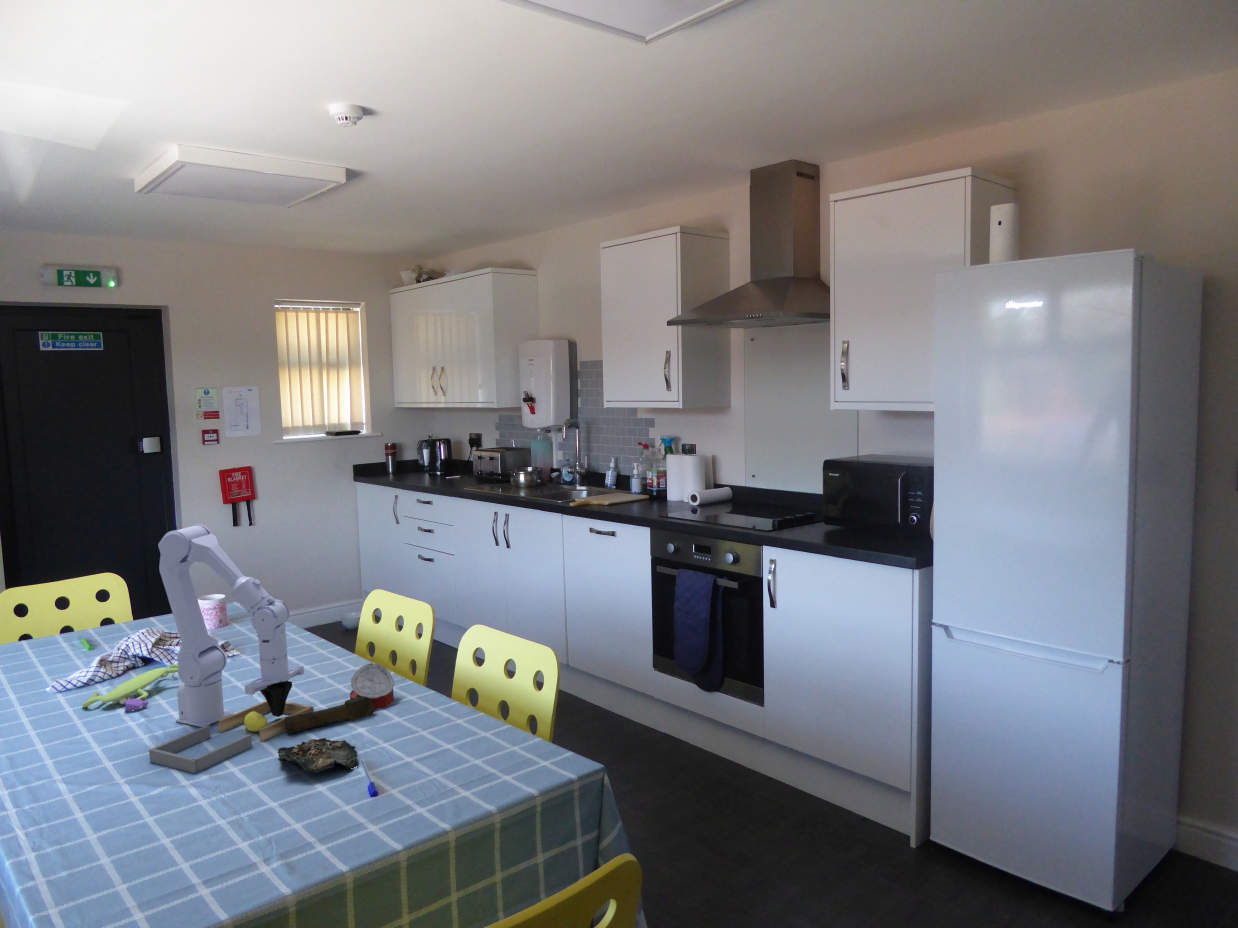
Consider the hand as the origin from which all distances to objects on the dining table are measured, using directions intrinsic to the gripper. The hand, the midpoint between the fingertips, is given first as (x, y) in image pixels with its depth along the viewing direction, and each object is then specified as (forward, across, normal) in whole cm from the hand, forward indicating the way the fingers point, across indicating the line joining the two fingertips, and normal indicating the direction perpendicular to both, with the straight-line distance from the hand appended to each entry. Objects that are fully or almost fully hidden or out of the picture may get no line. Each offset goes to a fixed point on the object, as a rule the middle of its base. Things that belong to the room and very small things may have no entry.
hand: (278, 714), depth 186 cm
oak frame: (+1, -3, 0) cm, 3 cm away
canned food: (+2, +16, -13) cm, 21 cm away
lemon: (+1, -6, 0) cm, 6 cm away
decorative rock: (+2, -12, -25) cm, 28 cm away
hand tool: (+2, +3, -13) cm, 13 cm away
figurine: (+2, 0, +44) cm, 44 cm away
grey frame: (+1, -19, 0) cm, 19 cm away
